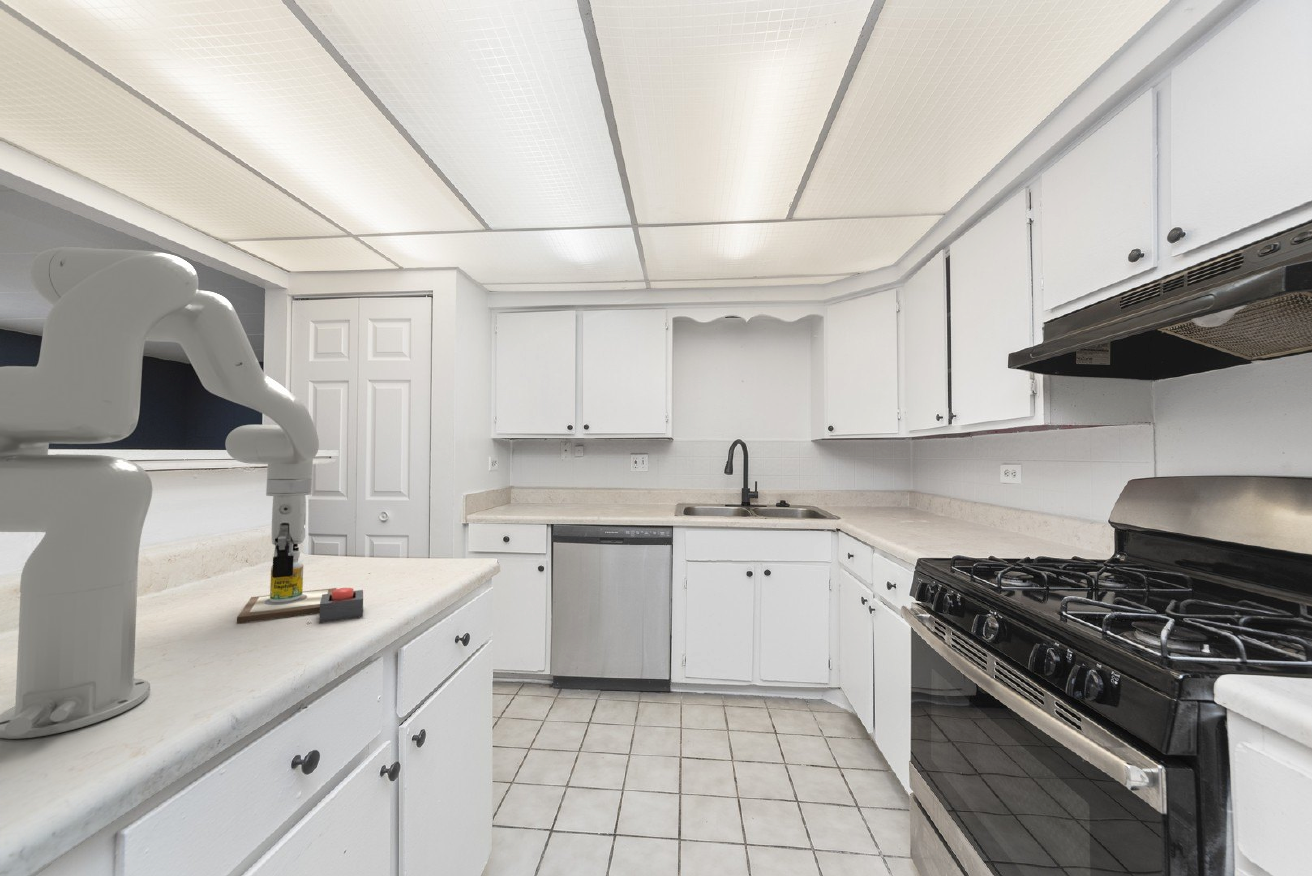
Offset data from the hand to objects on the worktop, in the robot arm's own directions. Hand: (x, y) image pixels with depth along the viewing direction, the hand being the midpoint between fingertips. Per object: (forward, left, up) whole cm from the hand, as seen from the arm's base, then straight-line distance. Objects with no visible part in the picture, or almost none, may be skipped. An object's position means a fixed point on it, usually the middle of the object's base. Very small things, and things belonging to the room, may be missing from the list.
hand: (285, 571), depth 101 cm
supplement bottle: (0, 0, -6) cm, 6 cm away
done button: (-11, -10, -5) cm, 16 cm away
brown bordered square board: (-1, -1, -7) cm, 7 cm away
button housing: (-11, -10, -7) cm, 16 cm away
